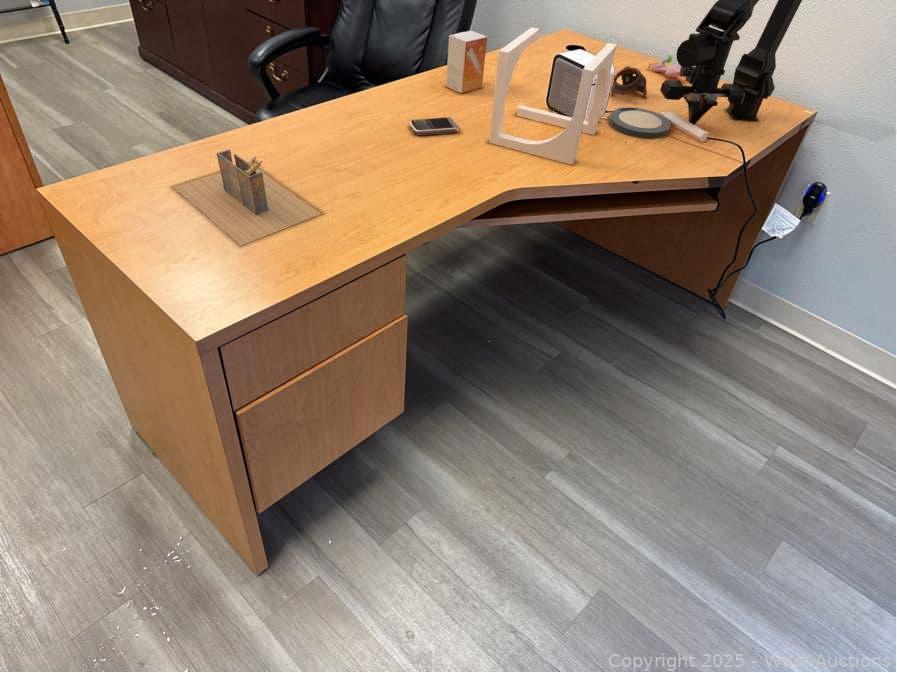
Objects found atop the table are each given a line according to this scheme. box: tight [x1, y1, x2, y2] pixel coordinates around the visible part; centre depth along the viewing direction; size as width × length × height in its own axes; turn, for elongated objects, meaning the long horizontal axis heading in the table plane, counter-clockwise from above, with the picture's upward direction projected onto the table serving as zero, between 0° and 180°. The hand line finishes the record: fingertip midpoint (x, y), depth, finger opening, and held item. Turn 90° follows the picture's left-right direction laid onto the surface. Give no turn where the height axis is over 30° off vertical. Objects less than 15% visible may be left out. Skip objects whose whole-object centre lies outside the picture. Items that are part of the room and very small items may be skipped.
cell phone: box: [409, 116, 460, 136], centre depth 140 cm, size 6×11×1 cm, turn 108°
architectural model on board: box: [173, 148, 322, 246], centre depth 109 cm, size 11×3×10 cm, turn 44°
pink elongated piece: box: [647, 54, 681, 79], centre depth 176 cm, size 6×6×15 cm
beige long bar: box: [660, 110, 709, 142], centre depth 150 cm, size 3×2×16 cm
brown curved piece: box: [610, 65, 648, 99], centre depth 163 cm, size 12×9×8 cm
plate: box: [608, 107, 672, 139], centre depth 150 cm, size 15×15×2 cm
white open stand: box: [488, 26, 618, 166], centre depth 135 cm, size 20×20×20 cm
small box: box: [445, 29, 488, 94], centre depth 157 cm, size 8×6×13 cm
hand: (690, 126), depth 150 cm, fingers closed
